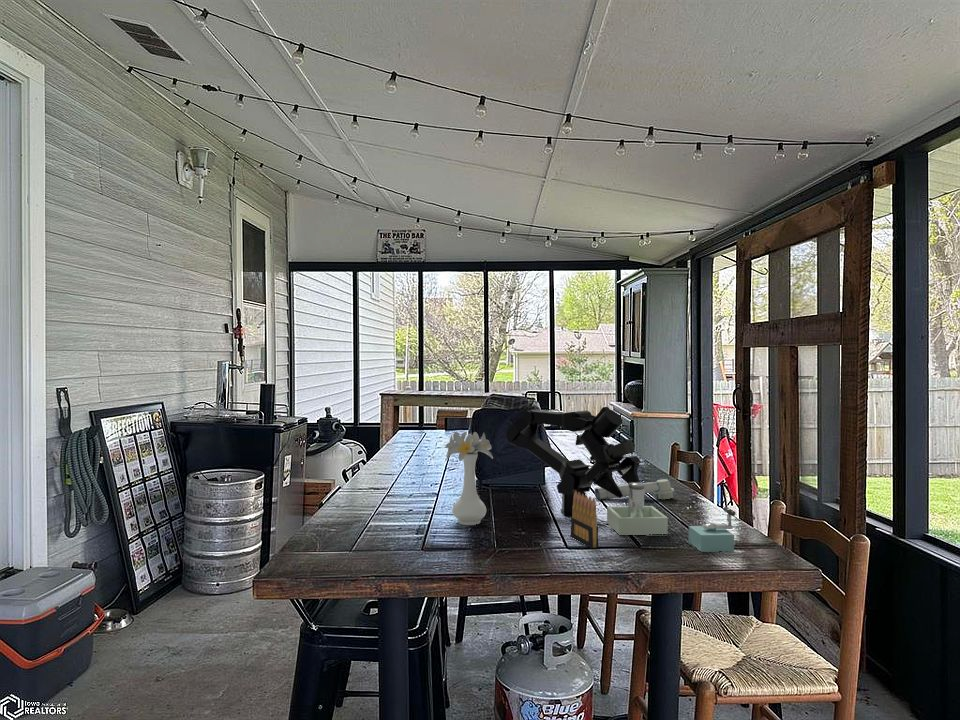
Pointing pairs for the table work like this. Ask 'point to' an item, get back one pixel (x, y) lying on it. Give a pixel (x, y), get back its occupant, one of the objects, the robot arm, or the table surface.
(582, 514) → the ammunition clip
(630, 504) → the pin
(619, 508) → the tray
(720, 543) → the crank block
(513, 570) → the table surface
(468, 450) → the flower vase
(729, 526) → the crank handle
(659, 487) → the grey mallet
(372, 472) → the table surface
